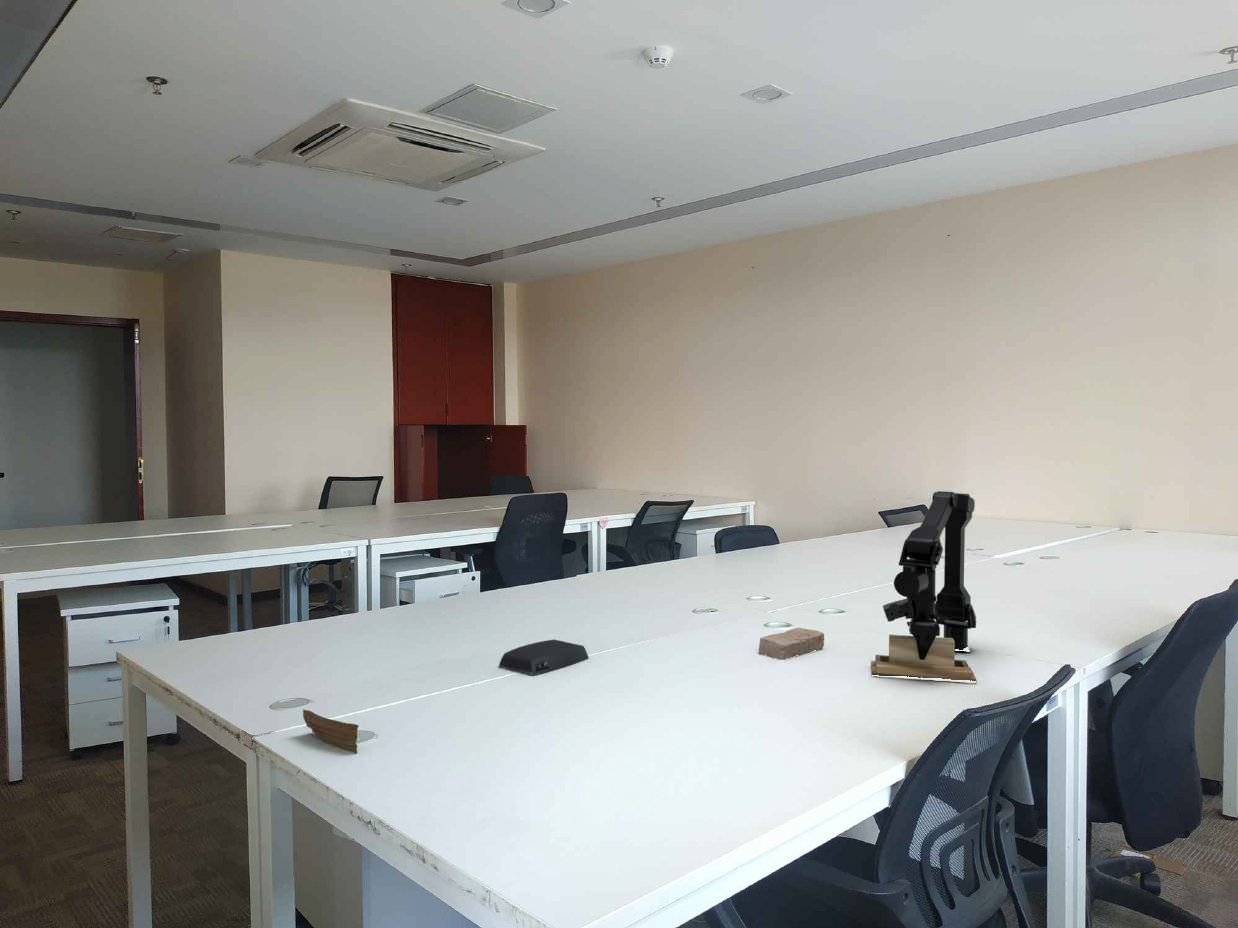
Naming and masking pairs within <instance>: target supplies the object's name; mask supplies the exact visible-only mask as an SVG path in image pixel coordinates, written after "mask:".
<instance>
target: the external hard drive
mask: <svg viewBox="0 0 1238 928" xmlns="http://www.w3.org/2000/svg"><path fill="white" fill-rule="evenodd" d="M587 660H589V656H588V652H587V649H586V647H585V646H584V645H581V644H576V643H572V642H567V641H563V640H558V639H548V640H543V641H542V640H541V641H537V642H533V643H528V644H525V645H522V646H518V647H516V648H514V649H511V650H509V651H506V652H504V653H503V655H502V656H501V659H500V661H499V664H498V668H499V667H500V669H503V668H505V669H504V670H506V671H510V670H511V672H514V671H515V673H519V674H522V675H526V676H531V677H535V676H540V675H542V674H547V673H550V672H553V671H557V670H561V669H564V668H567V667H570V666H574V665H576V664H579V663H581V662H584V661H587Z"/></svg>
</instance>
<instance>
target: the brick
mask: <svg viewBox="0 0 1238 928" xmlns="http://www.w3.org/2000/svg"><path fill="white" fill-rule="evenodd" d="M758 643H759V645H758V653H759V654H760V655H762V656H765V655H768V656H767V657H769V656H770V658H772V657H774V658H773V659H775V658H777V659H776V660H779V659H780V661H782V660H783V659H784V660H787V659H786V658H789V659H791V658H790V657H792V658H794V657H793V656H795V657H797V656H796V655H799V656H802V655H801V654H803V655H806V654H805V653H807V654H809V653H808V652H811V653H813V652H812V651H814V650H817V651H819V650H822V649H823V648H824V645H825V632H823V631H819V630H814V629H810V628H809V629H807V628H803V627H796V628H791V629H788V630H786V631H784V632H778V633H773V634H768V635H765V636H762V637H760V638H759V642H758ZM818 649H819V650H818Z"/></svg>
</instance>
